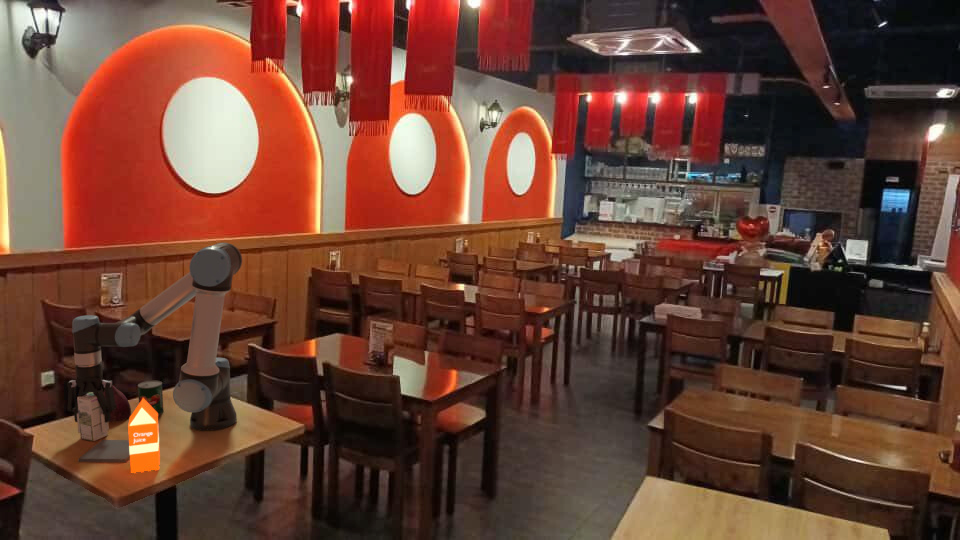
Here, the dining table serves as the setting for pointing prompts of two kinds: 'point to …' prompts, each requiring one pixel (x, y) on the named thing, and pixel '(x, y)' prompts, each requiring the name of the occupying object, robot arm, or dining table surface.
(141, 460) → the orange juice
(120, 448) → the mat
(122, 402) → the vegetable
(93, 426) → the syrup box
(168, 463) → the dining table surface
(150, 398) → the canned tomato
